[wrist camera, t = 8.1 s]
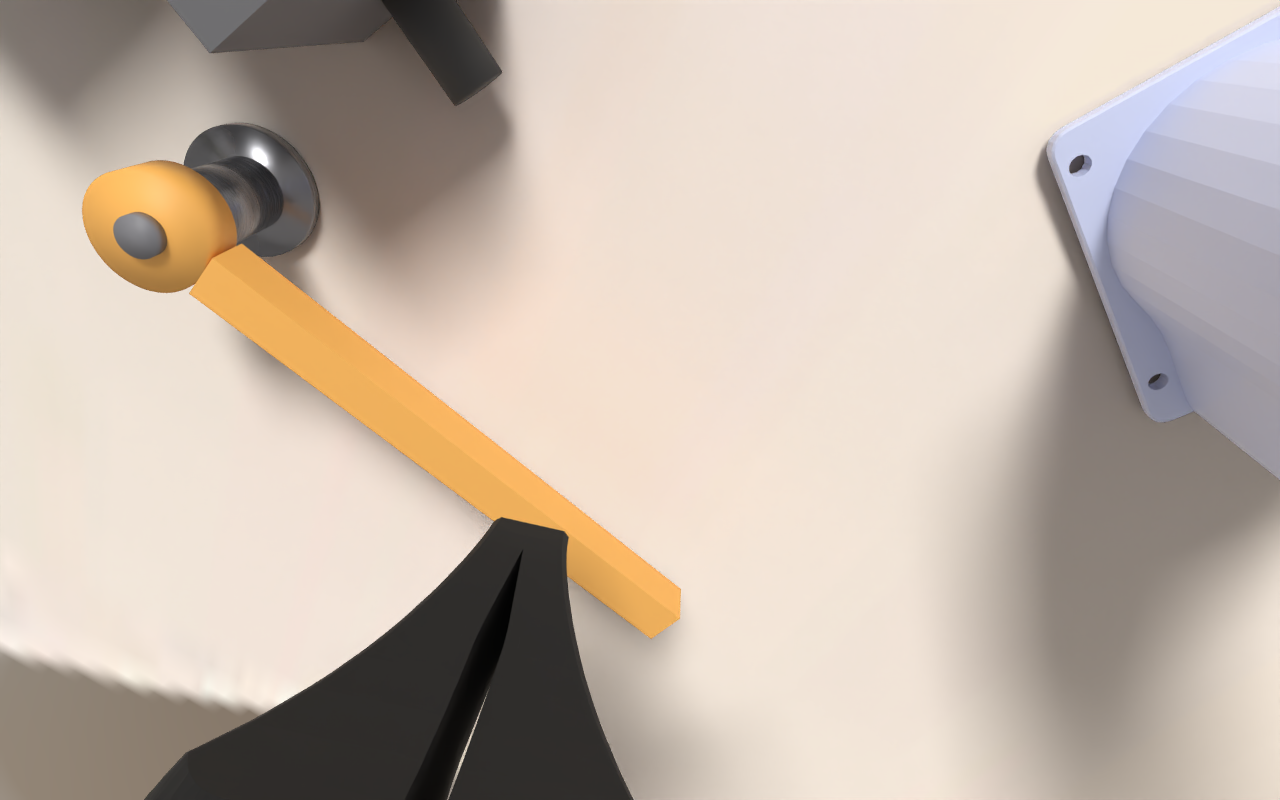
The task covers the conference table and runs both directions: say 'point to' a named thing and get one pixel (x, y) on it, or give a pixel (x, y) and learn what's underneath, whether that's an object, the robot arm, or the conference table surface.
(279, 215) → the lever handle base
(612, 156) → the conference table surface
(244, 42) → the plug
